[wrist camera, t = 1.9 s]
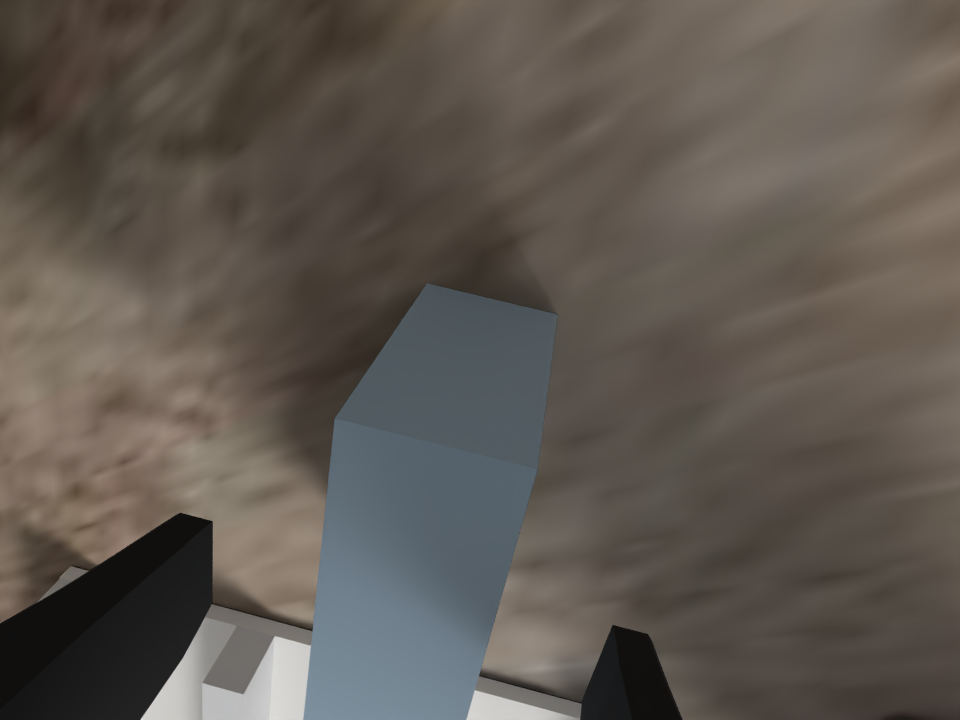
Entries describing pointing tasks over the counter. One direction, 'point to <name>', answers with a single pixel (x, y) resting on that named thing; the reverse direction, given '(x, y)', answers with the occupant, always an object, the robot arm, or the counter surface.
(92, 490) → the counter surface
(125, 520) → the counter surface
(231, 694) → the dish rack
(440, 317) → the blue block
